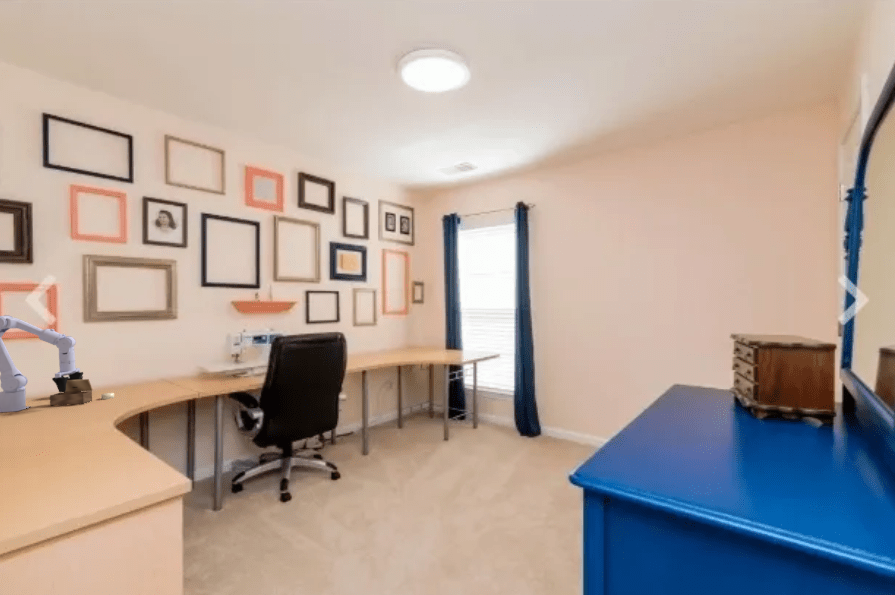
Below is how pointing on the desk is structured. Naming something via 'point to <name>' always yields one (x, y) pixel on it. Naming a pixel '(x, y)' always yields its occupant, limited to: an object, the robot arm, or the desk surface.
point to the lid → (78, 385)
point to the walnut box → (71, 398)
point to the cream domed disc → (107, 396)
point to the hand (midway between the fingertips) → (68, 389)
